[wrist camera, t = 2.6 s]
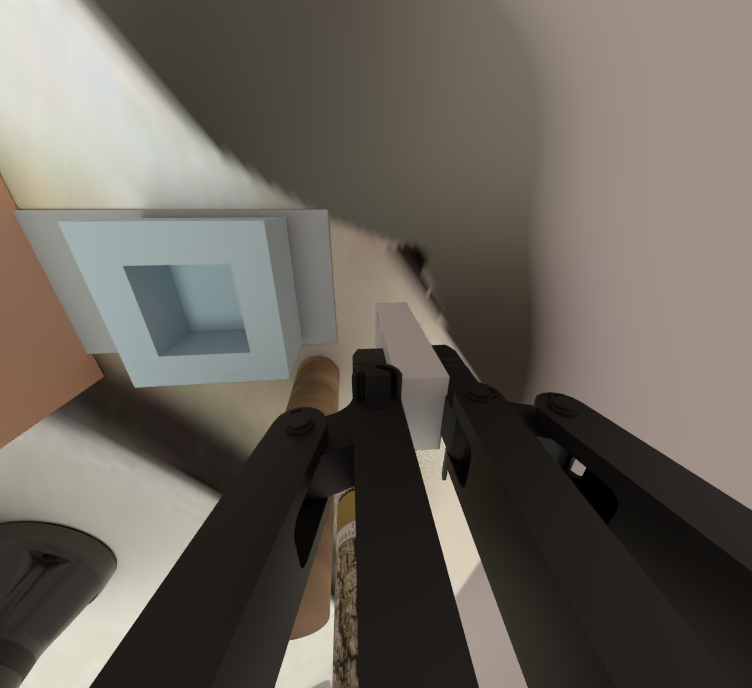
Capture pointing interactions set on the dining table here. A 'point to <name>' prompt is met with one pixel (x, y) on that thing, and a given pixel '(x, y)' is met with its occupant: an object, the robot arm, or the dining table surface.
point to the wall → (33, 336)
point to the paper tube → (345, 598)
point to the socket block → (193, 296)
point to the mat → (302, 225)
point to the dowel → (321, 392)
